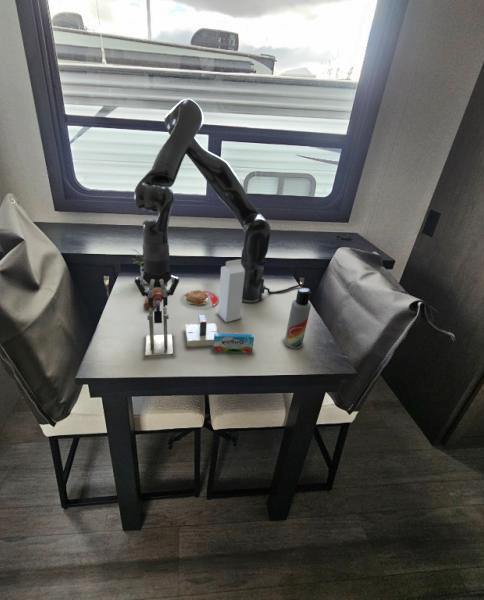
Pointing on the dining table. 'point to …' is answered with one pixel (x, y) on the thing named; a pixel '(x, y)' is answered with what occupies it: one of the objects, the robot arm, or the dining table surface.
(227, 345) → the blue flat cardboard box
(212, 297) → the hamburger
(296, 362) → the dining table surface
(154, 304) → the bread
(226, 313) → the milk
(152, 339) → the lever bracket
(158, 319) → the red ball lever
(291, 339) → the lotion bottle
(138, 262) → the house plant
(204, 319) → the black red-tipped box
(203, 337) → the panel
